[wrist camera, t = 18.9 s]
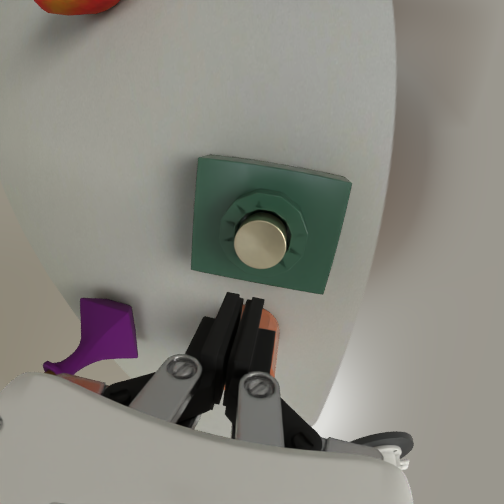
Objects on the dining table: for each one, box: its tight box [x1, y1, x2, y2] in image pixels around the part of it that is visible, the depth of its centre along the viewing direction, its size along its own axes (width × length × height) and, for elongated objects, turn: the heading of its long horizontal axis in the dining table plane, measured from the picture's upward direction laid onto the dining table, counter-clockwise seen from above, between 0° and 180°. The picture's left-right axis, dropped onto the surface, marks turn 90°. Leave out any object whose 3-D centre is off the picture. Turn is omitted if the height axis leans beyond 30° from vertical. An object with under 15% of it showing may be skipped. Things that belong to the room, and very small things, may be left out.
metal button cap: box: [234, 213, 287, 269], centre depth 20 cm, size 4×4×2 cm
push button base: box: [191, 154, 352, 294], centre depth 23 cm, size 12×10×5 cm
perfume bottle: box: [43, 298, 138, 376], centre depth 25 cm, size 8×8×18 cm
